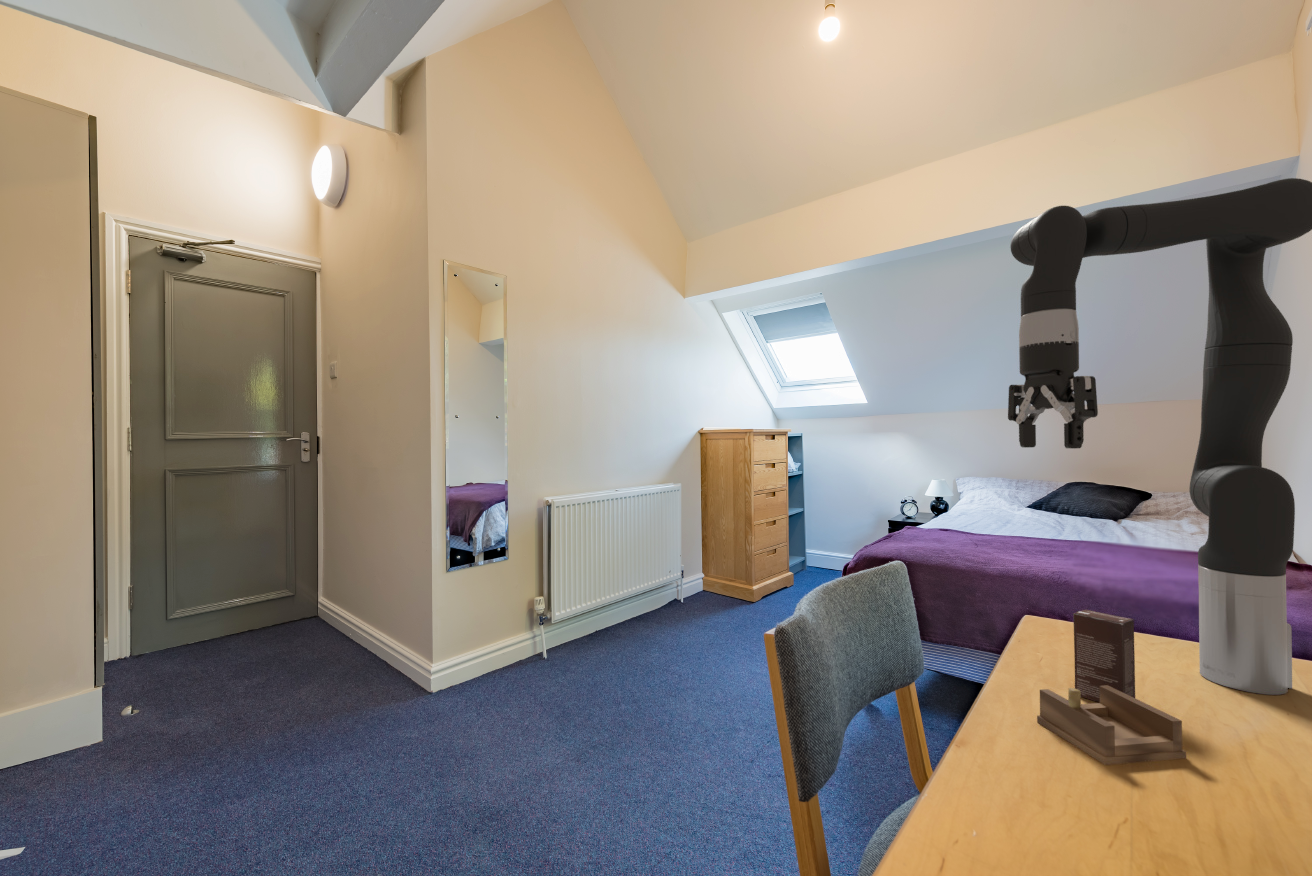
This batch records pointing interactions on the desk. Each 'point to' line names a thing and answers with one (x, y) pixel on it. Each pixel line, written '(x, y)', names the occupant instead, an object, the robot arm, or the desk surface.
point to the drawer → (1112, 726)
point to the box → (1103, 653)
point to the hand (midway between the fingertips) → (1049, 447)
